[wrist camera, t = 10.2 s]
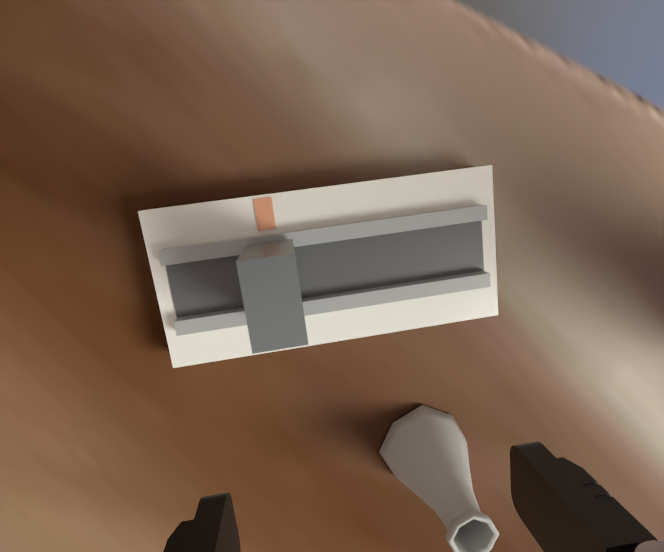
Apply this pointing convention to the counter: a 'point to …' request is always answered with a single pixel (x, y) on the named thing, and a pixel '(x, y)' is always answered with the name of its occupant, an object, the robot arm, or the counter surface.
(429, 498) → the flask
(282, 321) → the fader tab
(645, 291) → the counter surface
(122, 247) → the counter surface
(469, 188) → the fader console
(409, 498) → the counter surface
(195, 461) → the counter surface
